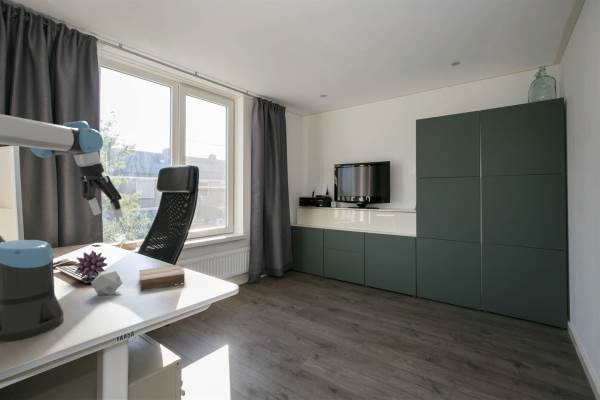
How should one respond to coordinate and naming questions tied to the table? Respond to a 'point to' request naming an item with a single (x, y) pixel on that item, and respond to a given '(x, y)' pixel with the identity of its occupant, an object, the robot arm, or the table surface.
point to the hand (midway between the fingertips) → (108, 215)
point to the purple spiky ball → (90, 264)
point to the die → (106, 283)
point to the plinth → (161, 277)
